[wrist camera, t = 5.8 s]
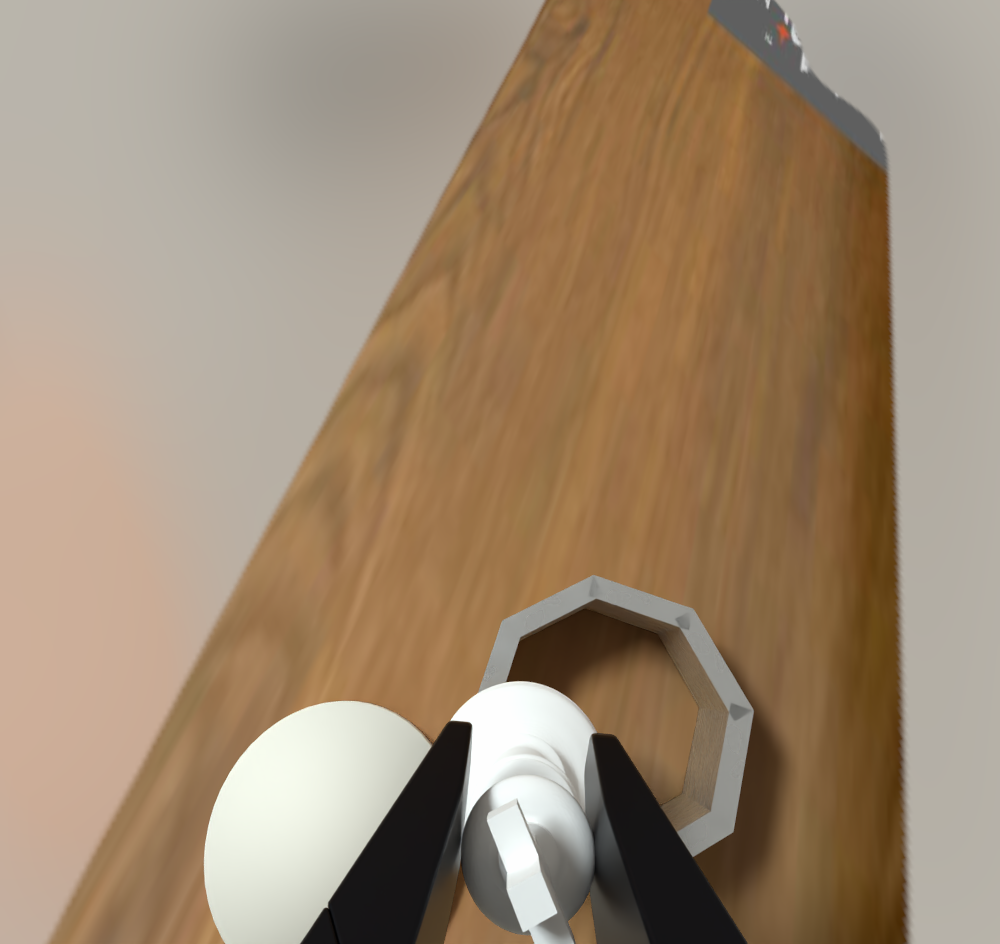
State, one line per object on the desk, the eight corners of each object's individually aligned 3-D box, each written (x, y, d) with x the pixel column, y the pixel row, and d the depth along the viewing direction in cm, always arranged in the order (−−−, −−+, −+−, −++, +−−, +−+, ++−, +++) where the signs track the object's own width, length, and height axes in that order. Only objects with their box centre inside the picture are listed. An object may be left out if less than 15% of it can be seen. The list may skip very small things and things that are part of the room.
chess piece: (558, 652, 17) (616, 608, 7) (640, 824, 15) (847, 1045, 6) (408, 727, 16) (263, 780, 7) (476, 915, 14) (409, 1331, 5)
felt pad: (401, 1033, 18) (398, 1045, 18) (164, 925, 19) (154, 932, 19) (491, 748, 21) (491, 750, 21) (282, 667, 22) (277, 667, 22)
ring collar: (686, 893, 20) (717, 929, 17) (445, 796, 21) (437, 815, 18) (733, 639, 23) (766, 634, 20) (522, 566, 24) (525, 551, 21)
